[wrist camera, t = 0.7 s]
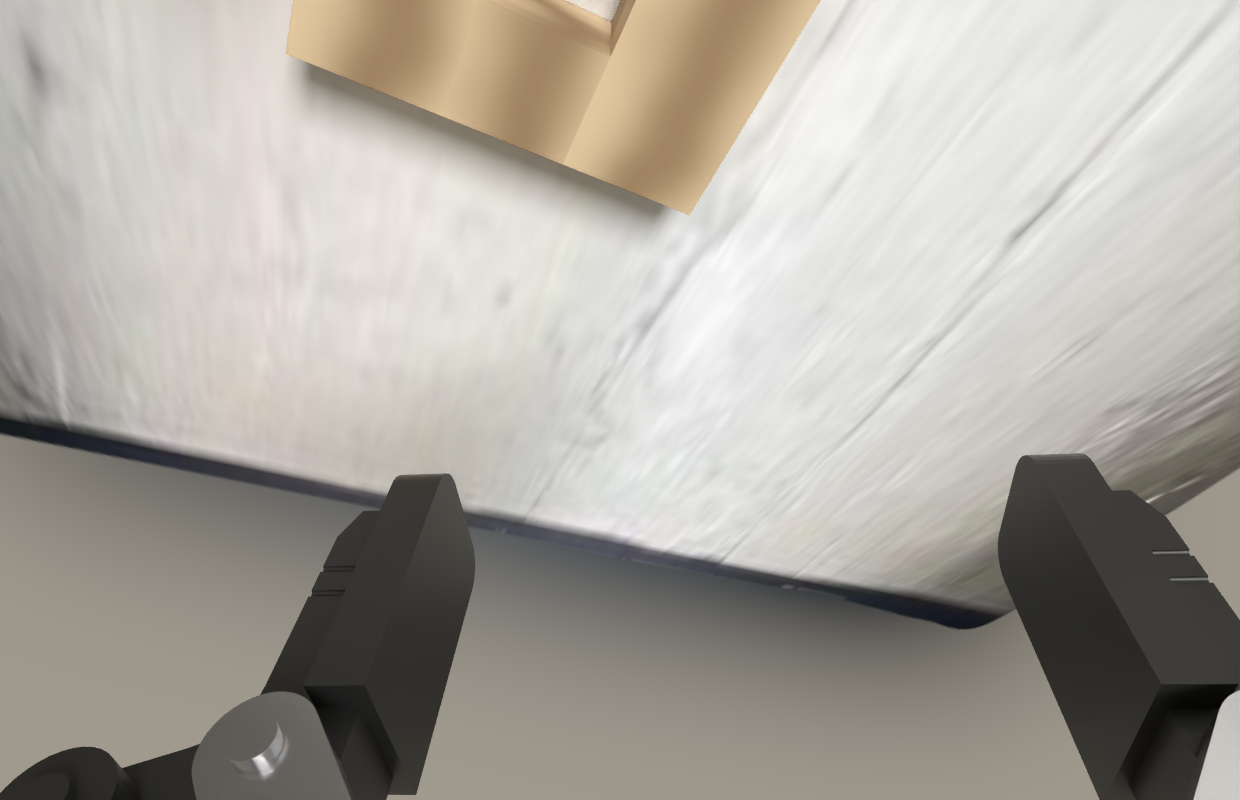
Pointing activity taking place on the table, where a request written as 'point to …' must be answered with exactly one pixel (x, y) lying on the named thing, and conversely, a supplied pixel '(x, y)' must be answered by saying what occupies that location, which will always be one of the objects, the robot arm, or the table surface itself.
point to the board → (571, 75)
